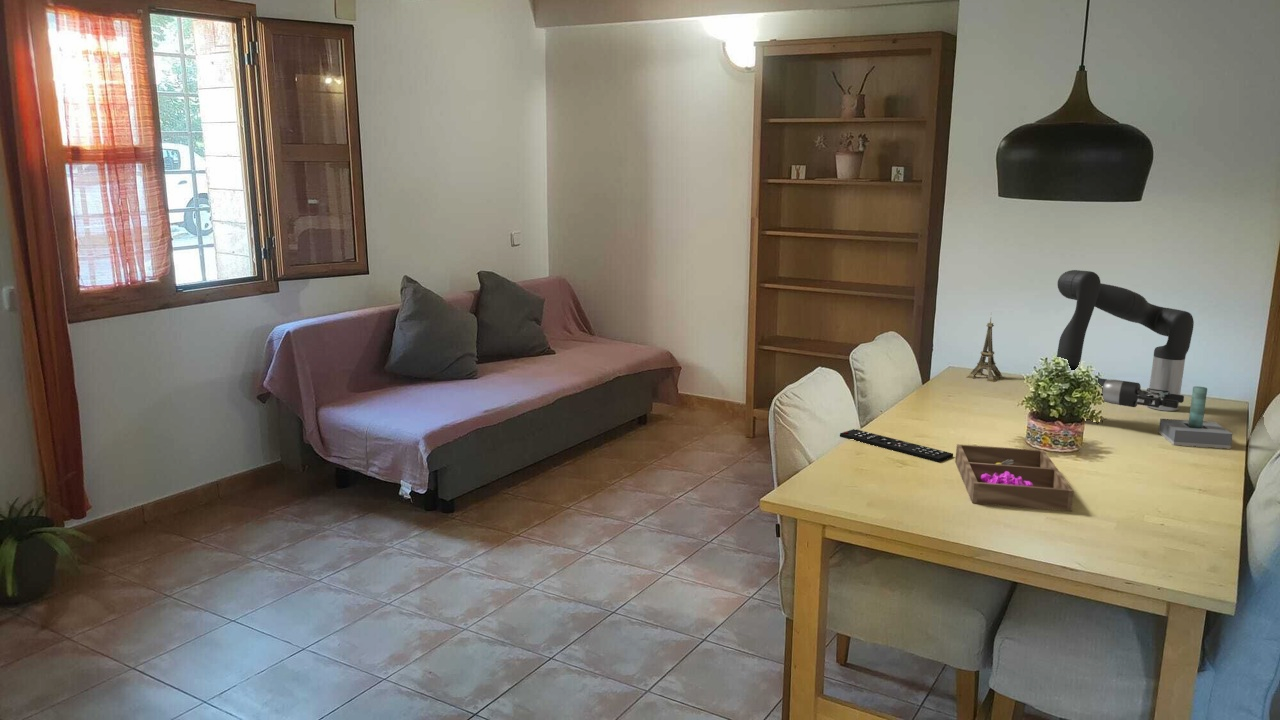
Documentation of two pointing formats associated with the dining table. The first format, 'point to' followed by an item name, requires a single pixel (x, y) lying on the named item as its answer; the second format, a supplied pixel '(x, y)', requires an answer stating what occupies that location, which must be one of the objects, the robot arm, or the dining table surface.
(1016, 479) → the magenta lumpy cluster
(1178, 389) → the robot arm
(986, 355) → the eiffel tower
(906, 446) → the remote control
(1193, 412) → the teal pin
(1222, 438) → the socket block
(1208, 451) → the dining table surface
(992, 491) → the walnut display tray
